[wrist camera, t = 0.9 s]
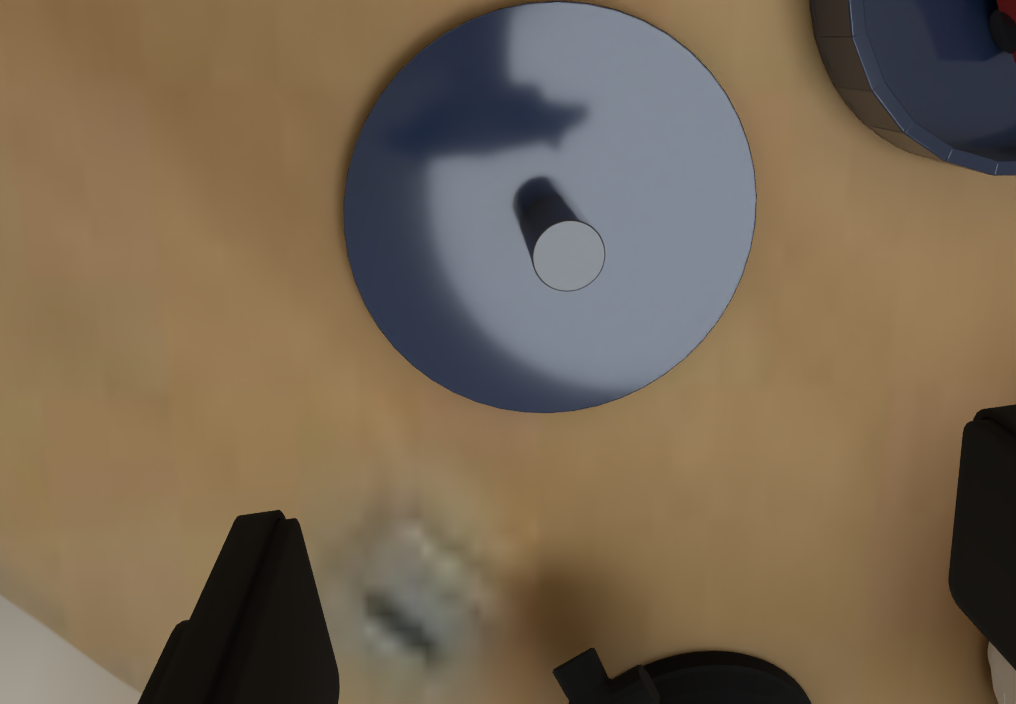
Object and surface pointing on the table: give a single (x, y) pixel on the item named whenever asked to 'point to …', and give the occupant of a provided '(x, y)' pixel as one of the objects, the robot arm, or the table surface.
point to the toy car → (1004, 26)
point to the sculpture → (680, 681)
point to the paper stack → (1002, 677)
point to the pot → (924, 76)
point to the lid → (550, 206)
